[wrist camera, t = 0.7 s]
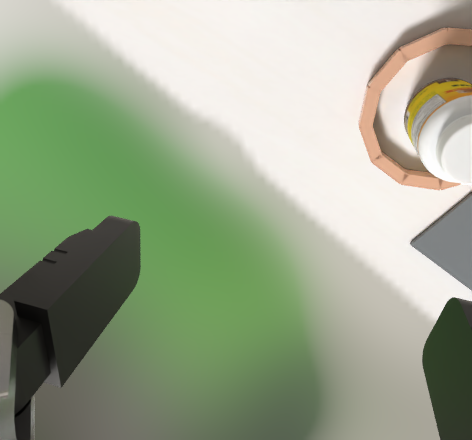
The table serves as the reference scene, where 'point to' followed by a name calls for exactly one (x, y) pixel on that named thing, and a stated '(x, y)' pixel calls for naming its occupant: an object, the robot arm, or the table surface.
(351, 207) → the table surface
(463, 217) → the mat
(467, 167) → the supplement bottle
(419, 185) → the faceted open ring
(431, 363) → the robot arm
